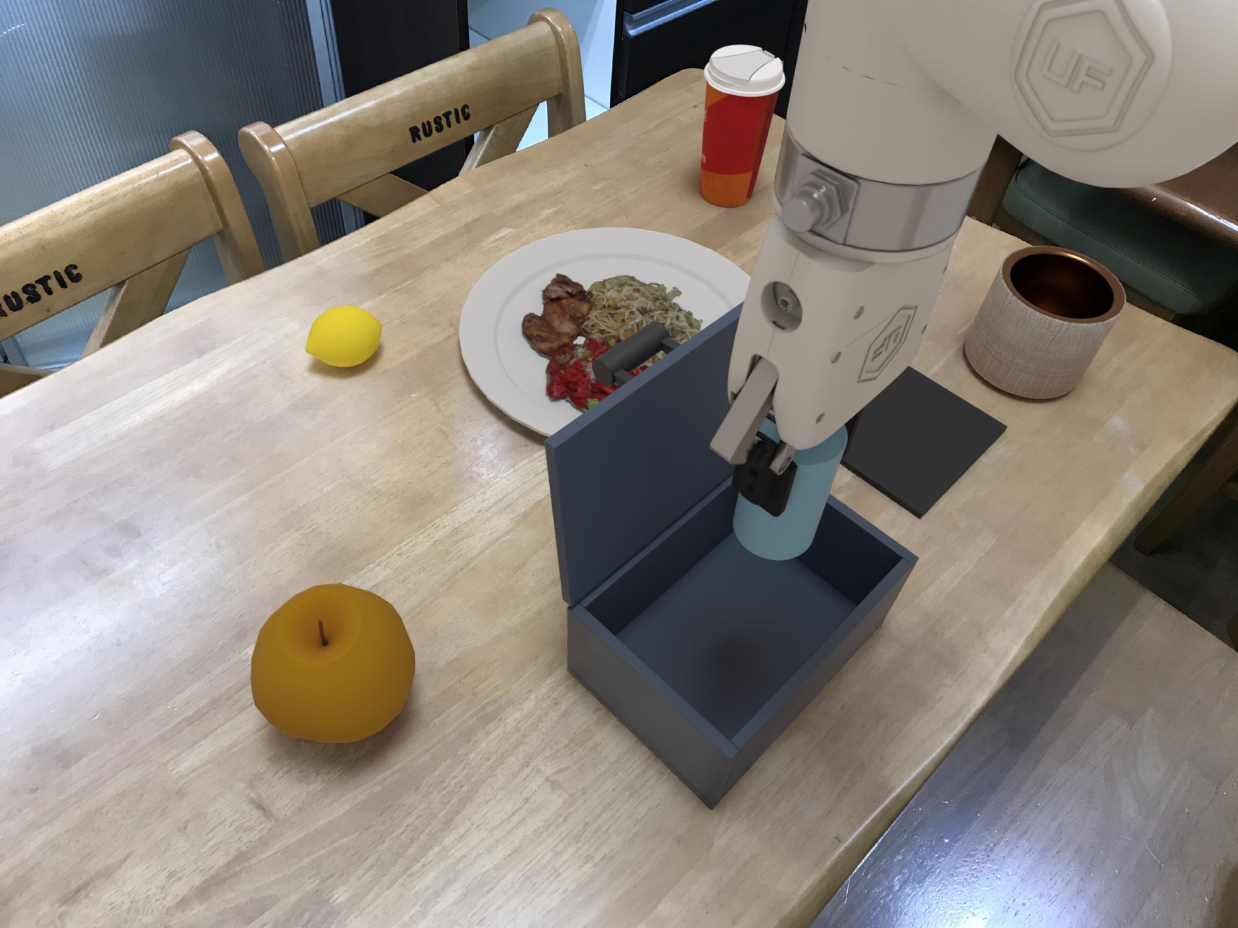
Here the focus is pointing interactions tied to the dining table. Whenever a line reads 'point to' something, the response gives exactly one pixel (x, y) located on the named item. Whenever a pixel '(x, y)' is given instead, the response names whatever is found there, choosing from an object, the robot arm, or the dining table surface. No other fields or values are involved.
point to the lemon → (344, 336)
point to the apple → (332, 665)
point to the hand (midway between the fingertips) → (790, 468)
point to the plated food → (584, 314)
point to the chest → (729, 634)
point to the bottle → (792, 501)
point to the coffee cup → (737, 121)
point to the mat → (918, 440)
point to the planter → (1043, 321)
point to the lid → (638, 449)
